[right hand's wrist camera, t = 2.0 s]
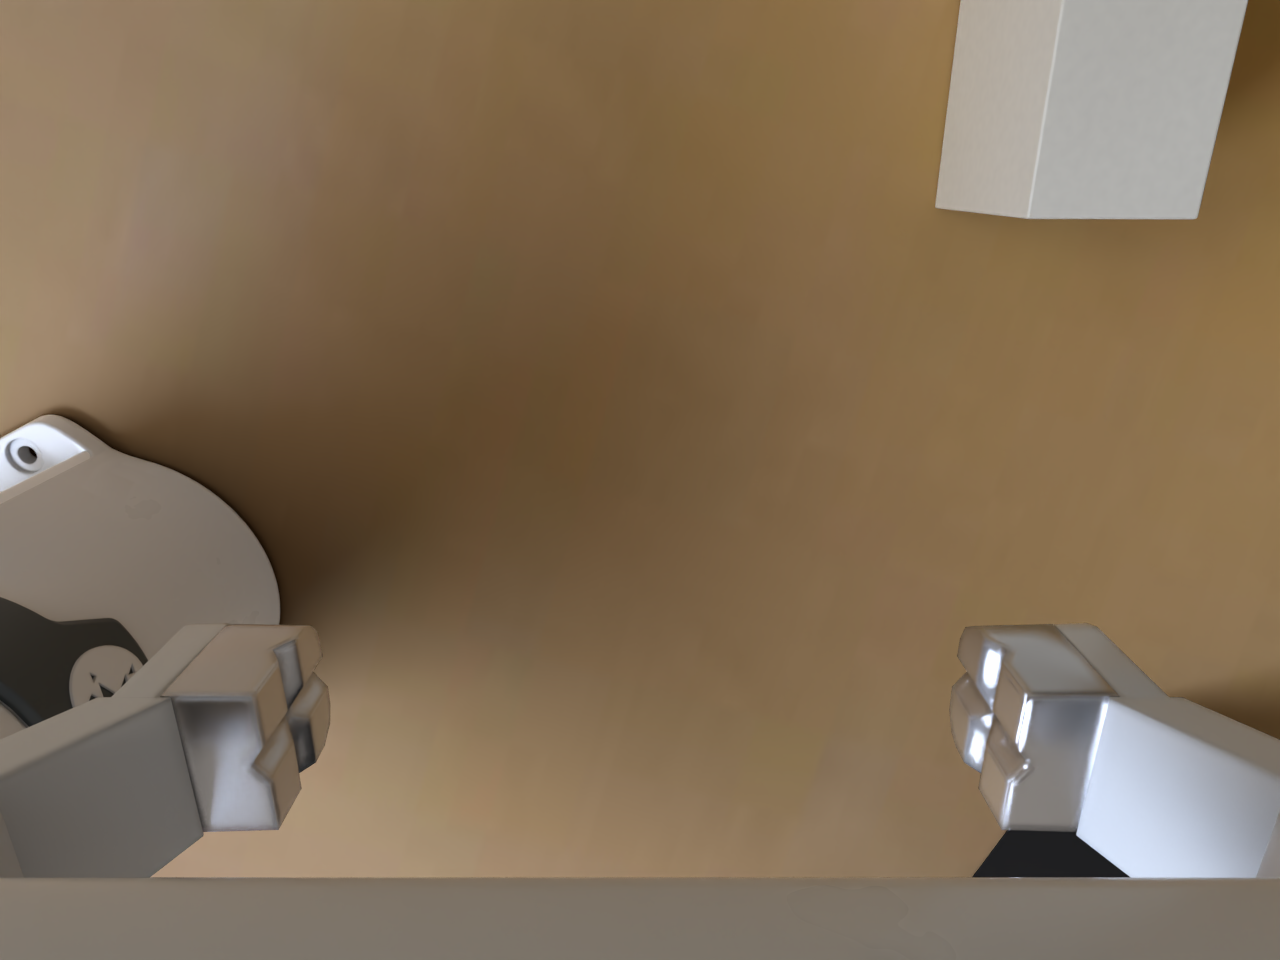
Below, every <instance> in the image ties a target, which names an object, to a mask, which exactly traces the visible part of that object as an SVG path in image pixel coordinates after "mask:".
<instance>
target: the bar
mask: <svg viewBox="0 0 1280 960" xmlns="http://www.w3.org/2000/svg"><path fill="white" fill-rule="evenodd" d="M1247 4H1248V0H961V2H960V10H959V18H958V26H957V34H956V42H955V50H954V58H953V66H952V75H951V83H950V91H949V99H948V107H947V115H946V123H945V131H944V139H943V147H942V155H941V163H940V171H939V180H938V188H937V196H936V204H935V207H936V208H939V209H948V210H956V211H965V212H973V213H982V214H990V215H999V216H1007V217H1016V218H1024V219H1196V218H1197V217H1198V214H1199V209H1200V205H1201V201H1202V197H1203V192H1204V188H1205V184H1206V179H1207V175H1208V171H1209V167H1210V162H1211V158H1212V154H1213V150H1214V145H1215V141H1216V137H1217V132H1218V128H1219V124H1220V120H1221V115H1222V111H1223V107H1224V102H1225V98H1226V94H1227V90H1228V85H1229V81H1230V77H1231V72H1232V68H1233V64H1234V60H1235V55H1236V51H1237V47H1238V42H1239V38H1240V34H1241V30H1242V25H1243V21H1244V17H1245V12H1246V8H1247Z"/></svg>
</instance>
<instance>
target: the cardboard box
mask: <svg viewBox="0 0 1280 960" xmlns="http://www.w3.org/2000/svg"><path fill="white" fill-rule="evenodd" d="M1076 834H1077V832H1064V831H1027V830H1007V832H1006V833H1005V834H1004V836H1003V837H1002V838H1001V840H1000V841H999V842H998V844H997V845H996V846H995V848H994V849H993V850H992V852H991V853H990V854H989V856H988V857H987V858H986V860H985V861H984V862H983V864H982V865H981V866H980V868H979V869H978V870H977V872H976V873H975V874H974V876H973V877H972V878H1009V877H1129V876H1128V875H1127V874H1126V873H1124V872H1123V871H1122V870H1120V869H1119V868H1118V867H1117V866H1115V865H1114V864H1113V863H1111V862H1110V861H1109V860H1108V859H1106V858H1105V857H1104V856H1102V855H1101V854H1100V853H1099V852H1097V851H1096V850H1095V849H1093V848H1092V847H1091V846H1089V845H1088V844H1087V843H1086V842H1084V841H1083V840H1082V839H1080V838H1079V837H1078V836H1077V835H1076Z"/></svg>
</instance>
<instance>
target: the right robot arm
mask: <svg viewBox="0 0 1280 960" xmlns="http://www.w3.org/2000/svg"><path fill="white" fill-rule="evenodd" d="M29 447H30V448H32V449H33V450H34V451H35V452H36V454H37V458H36V457H34V456H33V455H32V454H31V453H30V451H29ZM279 623H280V598H279V591H278V585H277V582H276V578H275V574H274V572H273V569H272V566H271V564H270V561H269V559H268V557H267V555H266V553H265V551H264V549H263V547H262V546H261V544H260V542H259V541H258V539H257V538H256V536H255V535H254V533H253V532H252V531H251V529H250V528H249V527H248V526H247V524H246V523H245V522H244V521H243V520H242V519H241V517H240V516H239V515H238V514H237V513H236V512H235V511H234V510H233V509H232V508H231V507H230V506H229V505H227V504H226V503H225V502H224V501H223V500H222V499H220V498H219V497H218V496H217V495H215V494H214V493H213V492H211V491H210V490H208V489H207V488H205V487H204V486H202V485H201V484H199V483H198V482H196V481H194V480H192V479H191V478H189V477H187V476H185V475H183V474H181V473H179V472H177V471H174V470H172V469H170V468H167V467H165V466H162V465H159V464H156V463H153V462H149V461H146V460H143V459H139V458H136V457H133V456H130V455H127V454H124V453H121V452H119V451H117V450H115V449H112V448H111V447H109V446H108V445H107V444H105V443H104V442H102V441H101V440H100V439H98V438H97V437H95V436H94V435H93V434H91V433H90V432H88V431H87V430H86V429H84V428H82V427H81V426H79V425H78V424H76V423H74V422H73V421H71V420H69V419H67V418H64V417H62V416H58V415H44V416H41V417H38V418H36V419H34V420H33V421H31V422H29V423H27V424H25V425H23V426H21V427H20V428H18V429H16V430H14V431H12V432H10V433H8V434H7V435H5V436H3V437H1V438H0V960H1280V740H1279V739H1277V738H1275V737H1272V736H1270V735H1268V734H1266V733H1263V732H1261V731H1259V730H1256V729H1254V728H1252V727H1249V726H1247V725H1245V724H1243V723H1240V722H1238V721H1236V720H1233V719H1231V718H1229V717H1226V716H1224V715H1222V714H1220V713H1217V712H1215V711H1213V710H1210V709H1208V708H1206V707H1203V706H1201V705H1199V704H1197V703H1194V702H1192V701H1190V700H1187V699H1185V698H1183V697H1168V696H1167V695H1166V694H1165V693H1164V692H1163V691H1162V690H1161V689H1160V688H1159V687H1158V686H1157V685H1156V684H1155V683H1154V682H1153V681H1152V680H1151V679H1150V678H1149V677H1148V676H1147V675H1146V674H1145V673H1144V672H1143V671H1142V670H1141V669H1140V668H1139V667H1138V666H1137V665H1136V664H1135V663H1134V662H1133V661H1131V660H1130V659H1129V658H1128V657H1127V656H1126V655H1125V654H1124V653H1123V652H1122V651H1121V650H1120V649H1119V648H1118V647H1117V646H1116V645H1115V644H1114V643H1113V642H1112V641H1111V640H1110V639H1109V638H1108V637H1107V636H1106V635H1105V634H1104V633H1103V632H1102V631H1101V630H1100V629H1099V628H1098V627H1096V626H1094V625H1091V624H1088V623H1072V624H1039V625H999V626H971V627H965V629H964V631H963V634H962V636H961V638H960V642H959V648H958V654H957V657H958V658H959V660H960V662H961V663H962V665H963V666H964V668H965V669H966V671H967V672H966V673H965V674H964V675H963V676H962V677H961V678H960V679H959V680H958V681H957V682H956V683H955V684H954V685H953V686H952V692H951V700H950V709H949V711H950V722H951V732H952V735H953V738H954V742H955V745H956V748H957V750H958V752H959V754H960V756H961V757H962V759H963V761H964V763H966V764H968V765H969V766H971V767H972V768H974V769H975V770H977V771H978V772H980V773H981V776H980V782H979V788H978V789H979V790H980V792H981V794H982V796H983V797H984V799H985V801H986V803H987V805H988V806H989V808H990V810H991V812H992V813H993V815H994V817H995V819H996V821H997V822H998V824H999V826H1000V828H1001V829H1002V830H1027V831H1064V832H1077V834H1076V835H1077V836H1078V837H1079V838H1080V839H1082V840H1083V841H1084V842H1086V843H1087V844H1088V845H1089V846H1091V847H1092V848H1093V849H1095V850H1096V851H1097V852H1099V853H1100V854H1101V855H1102V856H1104V857H1105V858H1106V859H1108V860H1109V861H1110V862H1111V863H1113V864H1114V865H1115V866H1117V867H1118V868H1119V869H1120V870H1122V871H1123V872H1124V873H1126V874H1127V875H1128V876H1129V877H1009V878H150V877H151V876H152V875H153V874H155V873H156V872H157V871H159V870H160V869H161V868H162V867H164V866H165V865H166V864H168V863H169V862H170V861H171V860H173V859H174V858H175V857H177V856H178V855H179V854H181V853H182V852H183V851H184V850H186V849H187V848H188V847H190V846H191V845H192V844H193V843H195V842H196V841H197V840H199V839H200V838H201V837H202V836H203V835H204V834H203V832H216V831H251V830H279V828H280V826H281V824H282V822H283V821H284V819H285V817H286V815H287V814H288V812H289V810H290V808H291V806H292V805H293V803H294V801H295V799H296V797H297V796H298V794H299V792H300V790H301V782H300V776H299V773H300V772H302V771H303V770H305V769H306V768H308V767H309V766H311V765H312V764H314V763H316V761H317V759H318V757H319V755H320V753H321V752H322V750H323V748H324V746H325V742H326V738H327V733H328V729H329V725H330V698H329V691H328V686H327V685H326V684H325V683H324V682H323V681H322V680H321V679H320V678H319V677H318V676H317V675H316V674H315V673H314V672H313V671H314V669H315V668H316V666H317V665H318V663H319V662H320V660H321V658H322V657H323V654H322V649H321V644H320V639H319V634H318V632H317V631H316V630H315V629H314V628H313V627H312V626H311V625H279Z"/></svg>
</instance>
